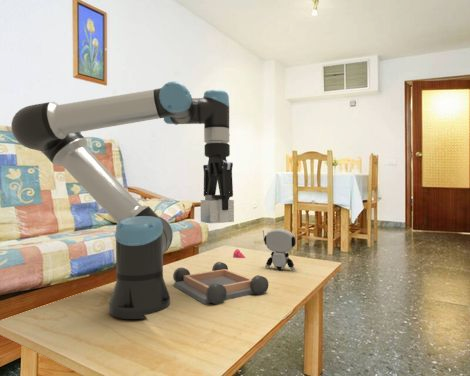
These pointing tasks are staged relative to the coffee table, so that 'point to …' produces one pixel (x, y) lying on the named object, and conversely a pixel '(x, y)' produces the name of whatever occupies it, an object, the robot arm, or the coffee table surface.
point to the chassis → (218, 284)
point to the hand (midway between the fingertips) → (217, 220)
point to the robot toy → (280, 248)
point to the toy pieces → (238, 254)
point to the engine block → (214, 209)
